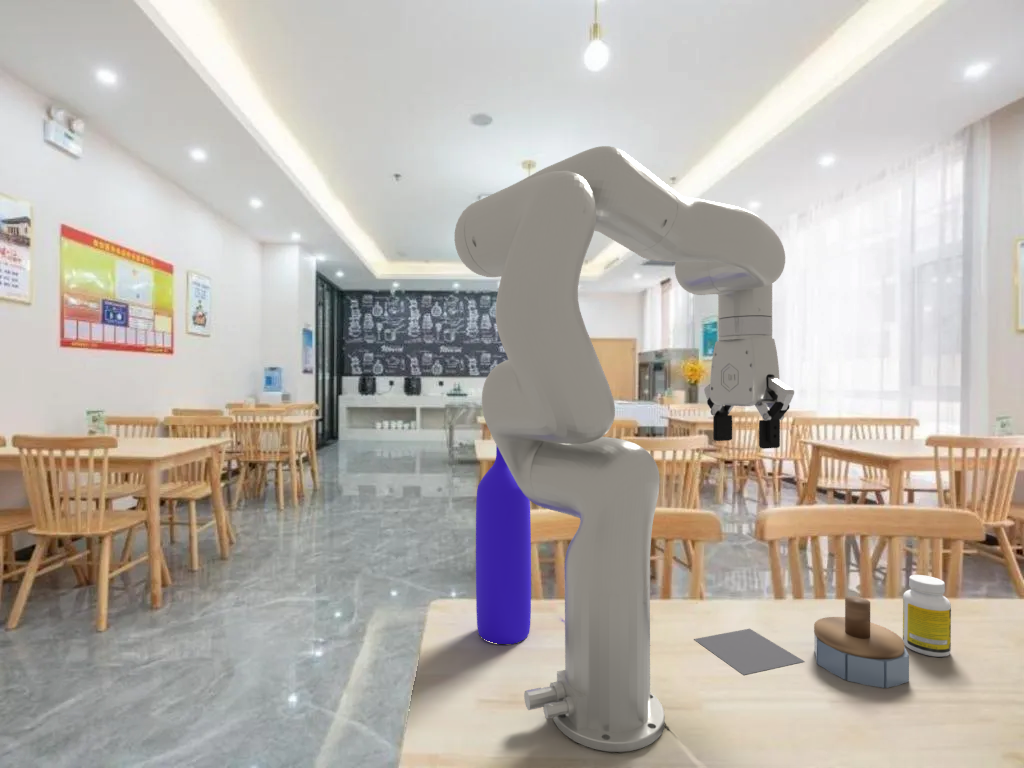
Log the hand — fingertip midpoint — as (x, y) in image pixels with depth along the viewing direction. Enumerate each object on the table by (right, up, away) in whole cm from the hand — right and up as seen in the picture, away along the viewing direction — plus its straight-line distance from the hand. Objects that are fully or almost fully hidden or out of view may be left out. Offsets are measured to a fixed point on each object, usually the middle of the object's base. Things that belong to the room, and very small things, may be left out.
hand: (744, 443), depth 82 cm
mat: (-3, -28, -7) cm, 29 cm away
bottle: (-37, -29, 0) cm, 46 cm away
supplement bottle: (+23, -29, -6) cm, 37 cm away
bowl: (+10, -29, -11) cm, 32 cm away
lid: (+10, -25, -11) cm, 29 cm away
